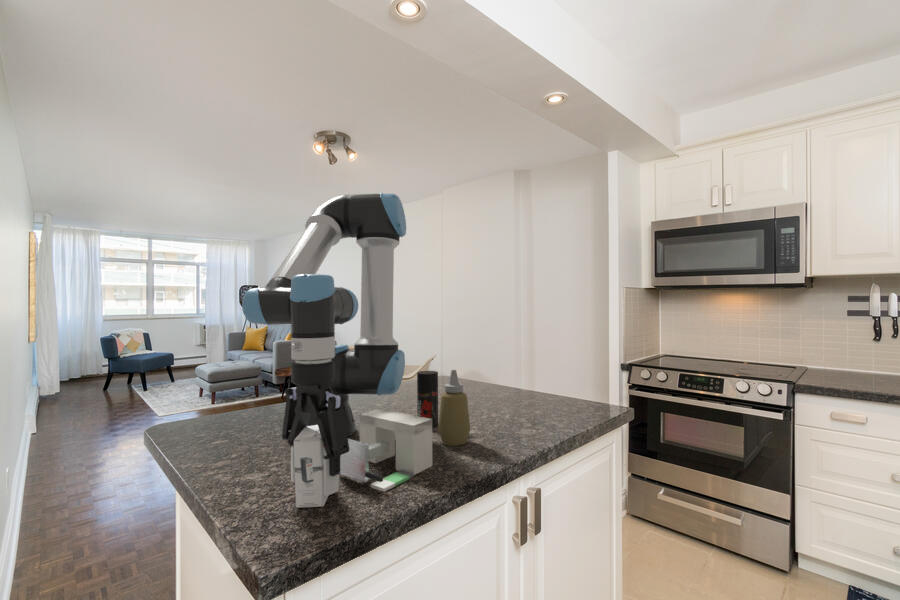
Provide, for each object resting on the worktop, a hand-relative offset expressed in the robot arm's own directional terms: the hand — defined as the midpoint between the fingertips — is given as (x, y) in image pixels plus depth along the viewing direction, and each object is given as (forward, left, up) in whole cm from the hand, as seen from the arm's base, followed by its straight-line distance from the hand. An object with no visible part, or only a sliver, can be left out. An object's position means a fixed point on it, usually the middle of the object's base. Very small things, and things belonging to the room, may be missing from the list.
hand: (314, 485), depth 77 cm
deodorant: (-12, +47, -2) cm, 48 cm away
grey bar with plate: (+2, +13, -1) cm, 13 cm away
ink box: (0, 0, -2) cm, 2 cm away
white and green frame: (0, +16, -2) cm, 17 cm away
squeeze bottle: (+3, +39, -2) cm, 39 cm away
